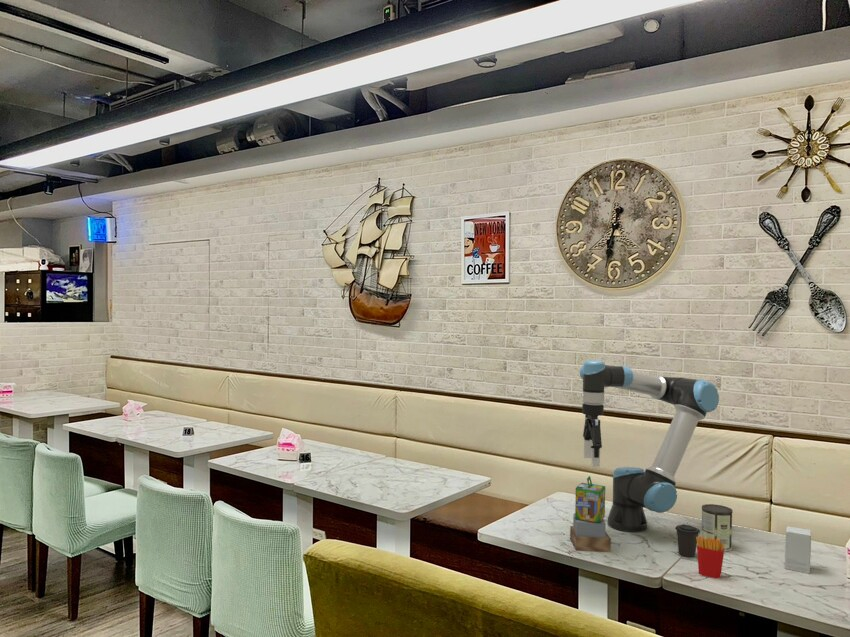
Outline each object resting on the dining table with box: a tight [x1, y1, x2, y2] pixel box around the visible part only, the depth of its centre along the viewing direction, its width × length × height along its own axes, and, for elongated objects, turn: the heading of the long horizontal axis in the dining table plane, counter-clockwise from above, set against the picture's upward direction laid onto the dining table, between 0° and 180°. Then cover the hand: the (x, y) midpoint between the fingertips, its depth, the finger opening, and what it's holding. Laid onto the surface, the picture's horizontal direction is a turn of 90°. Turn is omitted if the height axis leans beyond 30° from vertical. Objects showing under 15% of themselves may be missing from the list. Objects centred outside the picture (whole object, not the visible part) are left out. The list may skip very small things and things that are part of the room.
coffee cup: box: [675, 523, 701, 559], centre depth 219 cm, size 8×8×10 cm
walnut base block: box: [569, 525, 612, 553], centre depth 226 cm, size 12×12×5 cm
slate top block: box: [572, 512, 607, 538], centre depth 226 cm, size 10×10×5 cm
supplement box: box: [784, 525, 812, 574], centre depth 210 cm, size 7×7×13 cm
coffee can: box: [700, 503, 733, 553], centre depth 228 cm, size 10×10×14 cm
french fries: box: [696, 535, 725, 579], centre depth 202 cm, size 8×4×12 cm, turn 59°
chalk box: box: [574, 475, 606, 523], centre depth 226 cm, size 9×9×15 cm
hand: (591, 462), depth 226 cm, fingers open, 13 cm apart
